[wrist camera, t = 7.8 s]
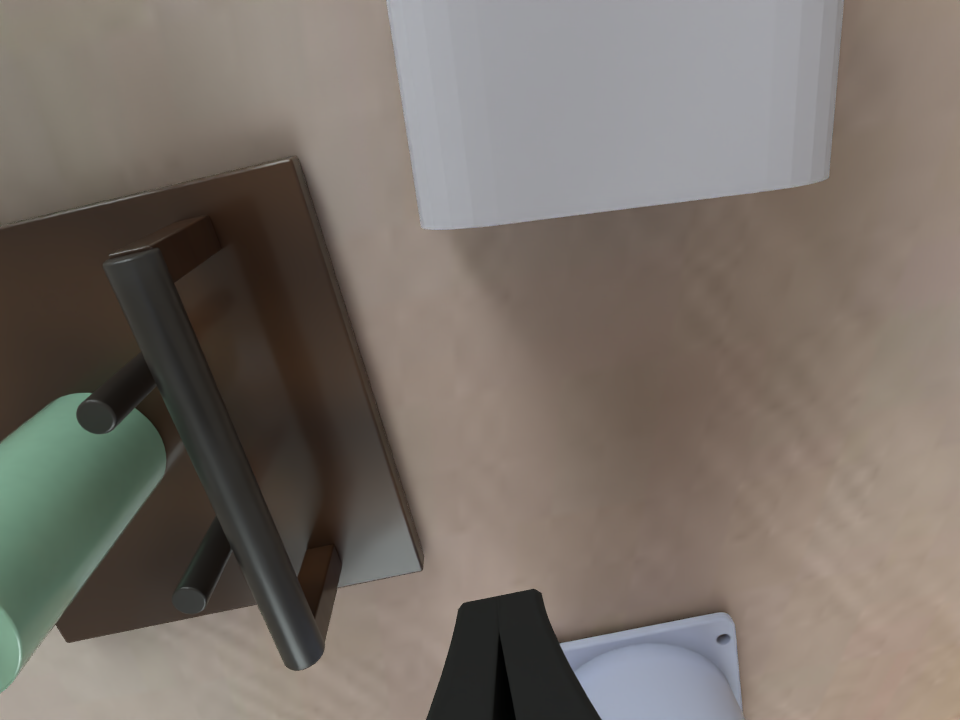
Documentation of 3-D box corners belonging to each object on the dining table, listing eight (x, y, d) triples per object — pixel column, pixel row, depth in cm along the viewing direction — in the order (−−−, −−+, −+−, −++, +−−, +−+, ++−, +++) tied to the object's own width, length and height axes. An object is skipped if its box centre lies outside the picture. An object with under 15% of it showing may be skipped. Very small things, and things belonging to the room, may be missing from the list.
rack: (424, 556, 23) (417, 681, 18) (78, 627, 24) (-18, 766, 19) (297, 154, 18) (239, 180, 13) (-145, 259, 19) (-361, 321, 14)
